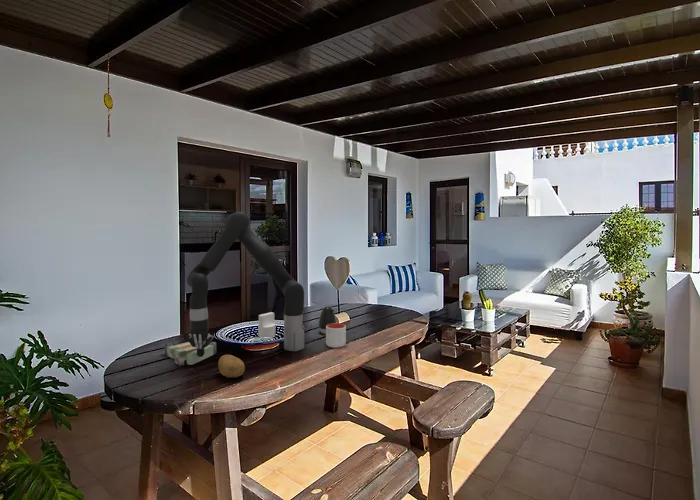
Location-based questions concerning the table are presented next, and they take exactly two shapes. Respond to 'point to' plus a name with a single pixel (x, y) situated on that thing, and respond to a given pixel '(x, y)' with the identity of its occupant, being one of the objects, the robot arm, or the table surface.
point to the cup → (335, 335)
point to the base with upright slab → (266, 325)
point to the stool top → (179, 351)
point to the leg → (208, 350)
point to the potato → (231, 366)
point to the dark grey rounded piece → (326, 318)
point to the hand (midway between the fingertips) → (200, 356)
